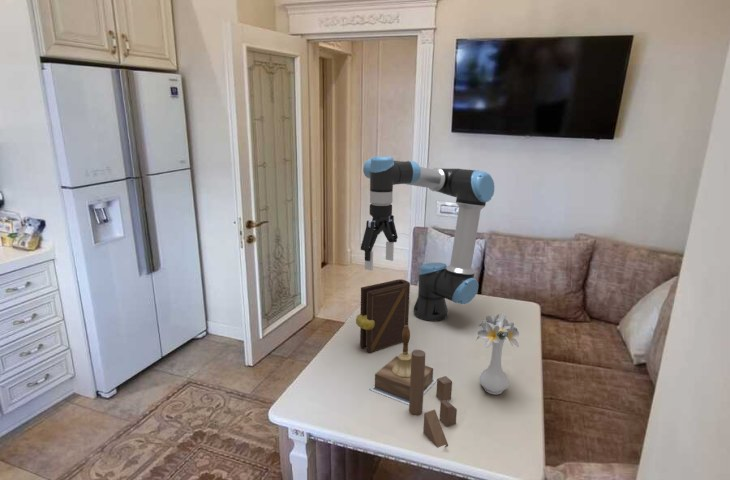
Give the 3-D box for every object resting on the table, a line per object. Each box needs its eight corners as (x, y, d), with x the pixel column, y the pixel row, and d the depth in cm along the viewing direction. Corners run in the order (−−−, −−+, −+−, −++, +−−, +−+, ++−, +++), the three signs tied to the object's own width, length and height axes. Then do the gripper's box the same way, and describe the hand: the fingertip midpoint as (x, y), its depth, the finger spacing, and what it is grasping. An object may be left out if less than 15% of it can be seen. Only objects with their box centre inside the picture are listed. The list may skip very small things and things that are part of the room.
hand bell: (387, 367, 148) (389, 322, 144) (409, 362, 151) (411, 318, 147) (399, 380, 141) (401, 333, 137) (422, 374, 144) (424, 329, 140)
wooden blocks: (437, 450, 118) (442, 383, 113) (399, 409, 135) (401, 349, 130) (487, 431, 126) (493, 368, 121) (444, 394, 143) (448, 337, 138)
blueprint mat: (396, 367, 159) (396, 365, 159) (437, 381, 150) (437, 379, 150) (368, 391, 144) (368, 389, 144) (412, 408, 136) (413, 406, 136)
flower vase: (510, 376, 154) (517, 308, 148) (515, 407, 137) (523, 333, 131) (471, 371, 157) (477, 304, 151) (471, 401, 140) (477, 328, 133)
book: (397, 335, 183) (400, 277, 176) (411, 344, 176) (413, 284, 169) (352, 349, 171) (352, 288, 165) (364, 359, 164) (365, 295, 158)
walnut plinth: (395, 368, 156) (396, 356, 155) (432, 381, 149) (433, 368, 148) (374, 387, 145) (375, 373, 144) (413, 402, 138) (413, 388, 136)
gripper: (390, 197, 161) (388, 254, 166) (350, 207, 140) (349, 271, 146) (408, 200, 157) (406, 257, 162) (370, 210, 136) (369, 276, 142)
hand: (379, 264), depth 154 cm, fingers open, 13 cm apart
